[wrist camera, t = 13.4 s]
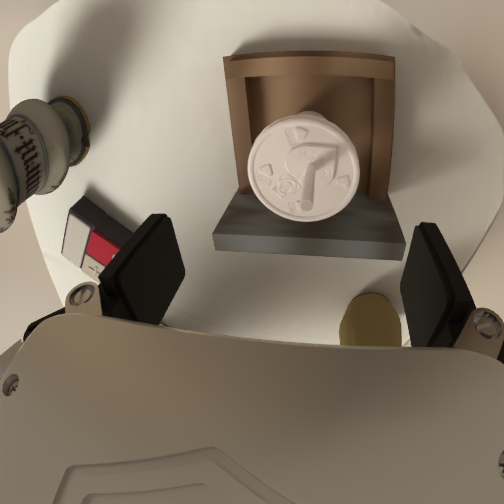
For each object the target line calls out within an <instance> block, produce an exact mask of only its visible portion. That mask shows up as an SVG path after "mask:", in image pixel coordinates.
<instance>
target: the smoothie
mask: <svg viewBox="0 0 504 504" xmlns="http://www.w3.org/2000/svg"><path fill="white" fill-rule="evenodd" d="M248 177H249V181H250V184H251V187H252V189H253V191H254V193H255V194H256V196H257V197H258V199H259V200H260V201H261V202H262V203H263V204H264V205H265V206H266V207H267V208H268V209H270V210H271V211H273V212H274V213H276V214H278V215H280V216H282V217H284V218H287V219H290V220H295V221H303V222H311V221H318V220H322V219H326V218H328V217H331V216H333V215H335V214H336V213H338V212H339V211H341V210H342V209H343V208H344V207H345V206H346V205H347V204H348V203H349V202H350V201H351V199H352V198H353V196H354V194H355V192H356V190H357V187H358V184H359V178H360V167H359V159H358V156H357V153H356V149H355V147H354V145H353V143H352V142H351V140H350V139H349V137H348V136H347V134H345V133H344V132H343V131H342V130H341V129H340V128H339V127H338V126H337V125H335V124H333V123H331V122H330V121H328V120H327V119H326V118H325V117H324V116H323V115H321V114H319V113H317V112H314V111H303V112H300V113H298V114H296V115H290V116H287V117H284V118H281V119H278V120H276V121H274V122H273V123H271V124H270V125H269V126H267V127H266V128H264V130H263V131H262V132H261V133H260V134H259V136H258V137H257V138H256V140H255V142H254V145H253V147H252V149H251V151H250V154H249V158H248Z"/></svg>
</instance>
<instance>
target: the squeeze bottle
mask: <svg viewBox="0 0 504 504" xmlns="http://www.w3.org/2000/svg"><path fill="white" fill-rule="evenodd" d="M339 337H340V345H348V346H383V347H402V335H401V322H400V318H399V316H398V314H397V313H396V311H395V310H394V308H393V307H392V305H391V303H390V302H389V300H388V299H386V298H385V297H384V296H382V295H380V294H377V293H367V294H363V295H359V296H358V297H356V298H354V299H353V300H352V301H351V302H350V304H349V305H348V307H347V310H346V312H345V314H344V317H343V319H342V321H341V324H340V329H339Z"/></svg>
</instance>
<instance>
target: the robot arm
mask: <svg viewBox="0 0 504 504" xmlns="http://www.w3.org/2000/svg"><path fill="white" fill-rule="evenodd" d="M184 277H185V268H184V264H183V261H182V257H181V254H180V250H179V247H178V243H177V239H176V236H175V232H174V228H173V224H172V221H171V219H170V218H169V217H167V215H166V214H151V215H150V216H149V217H148V218H147V219H146V220H145V221H144V223H143V224H142V225H141V226H140V227H139V228H138V229H137V230H136V232H135V233H134V234H133V235H132V236H131V237H130V238H129V240H128V241H127V242H126V243H125V244H124V245H123V247H122V248H121V249H120V250H119V251H118V252H117V254H116V255H115V256H114V257H113V258H112V260H111V261H110V262H109V263H108V265H107V266H106V267H105V268H104V270H103V271H102V272H101V273H100V275H99V276H98V278H99V281H100V284H99V285H97V284H96V283H94V282H84V283H81V284H79V285H77V286H76V287H74V288H73V289H72V290H71V291H70V292H69V293H68V295H67V297H66V301H65V307H64V308H62V309H60V310H58V311H56V312H53V313H51V314H49V315H47V316H45V317H43V318H41V319H39V320H37V321H35V322H33V323H31V324H30V325H29V326H28V328H27V330H26V331H25V334H24V337H23V340H24V341H23V342H22V340H21V339H20V340H19V341H18V342H16V343H15V344H14V345H13V346H11V347H10V348H9V349H8V350H6V351H5V352H4V353H3V354H2V355H0V504H504V323H503V321H502V319H501V318H500V317H499V315H498V314H496V313H495V312H494V311H492V310H490V309H487V308H477V309H476V306H475V304H474V301H473V298H472V296H471V294H470V291H469V290H468V287H467V284H466V282H465V280H464V278H463V276H462V273H461V271H460V269H459V267H458V265H457V263H456V261H455V259H454V257H453V255H452V253H451V251H450V249H449V247H448V245H447V243H446V241H445V239H444V238H443V236H442V234H441V232H440V230H439V228H438V227H437V225H436V224H435V223H427V222H421V223H420V224H419V226H415V229H414V233H413V237H412V241H411V246H410V250H409V253H408V257H407V261H406V265H405V268H404V272H403V276H402V279H401V283H400V291H401V296H402V300H403V305H404V309H405V314H406V319H407V324H408V329H409V335H410V340H411V346H412V347H383V346H348V345H327V344H311V343H297V342H284V341H273V340H262V339H253V338H243V337H235V336H227V335H219V334H211V333H204V332H197V331H190V330H183V329H176V328H170V327H166V326H165V325H163V324H161V323H160V322H161V320H162V318H163V317H164V315H165V313H166V311H167V309H168V307H169V305H170V303H171V301H172V300H173V298H174V296H175V294H176V292H177V290H178V288H179V287H180V285H181V283H182V281H183V279H184Z"/></svg>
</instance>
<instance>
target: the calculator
mask: <svg viewBox="0 0 504 504" xmlns="http://www.w3.org/2000/svg"><path fill="white" fill-rule="evenodd" d="M133 234H134V233H132V232H131V231H129V230H128V229H127V228H125V227H124V226H122V225H121V224H119V223H118V222H116V221H115V220H113V219H112V218H110V217H109V216H108V215H106V213H105V212H104V211H103V210H102V209H100V208H99V207H98V206H96V205H95V204H94V203H93V202H91V201H90V200H89V199H87V198H86V197H85V196H83V197H82V198H81V199H80V200H79V201H78V202H76V203H75V204H74V205H73V206H72V207H71V208H70V209H69V213H68V218H67V223H66V228H65V233H64V239H63V245H62V252H61V253H62V255H63V256H64V257H65V258H66V259H68V260H69V261H70V262H72V263H73V264H74V265H76V266H77V267H79V268H81V269H82V271H83V272H84V273H85V274H87V275H88V276H90V277H91V278H93V279H94V280H95V281H97V282H98V283H100V281H99V278H98V276H99V275H100V273H101V272H102V271H103V270H104V268H105V267H106V266H107V265H108V263H109V262H110V261H111V260H112V258H113V257H114V256H115V255H116V254H117V252H118V251H119V250H120V249H121V248H122V247H123V245H124V244H125V243H126V242H127V241H128V240H129V238H130V237H131V236H132V235H133Z"/></svg>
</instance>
